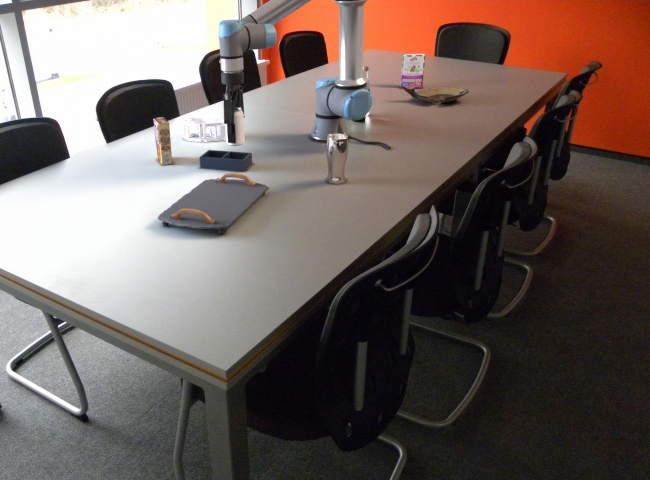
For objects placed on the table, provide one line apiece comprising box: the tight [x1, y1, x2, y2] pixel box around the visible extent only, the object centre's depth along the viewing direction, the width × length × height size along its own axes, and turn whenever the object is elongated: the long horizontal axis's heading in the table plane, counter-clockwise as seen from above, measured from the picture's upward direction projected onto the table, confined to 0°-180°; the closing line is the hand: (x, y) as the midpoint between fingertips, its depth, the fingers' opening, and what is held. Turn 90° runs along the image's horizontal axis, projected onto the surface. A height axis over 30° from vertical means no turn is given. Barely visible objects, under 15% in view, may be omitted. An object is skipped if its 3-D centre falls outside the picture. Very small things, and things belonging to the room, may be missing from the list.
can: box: [225, 107, 245, 147], centre depth 212 cm, size 6×6×12 cm
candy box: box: [153, 116, 173, 166], centre depth 224 cm, size 9×4×15 cm, turn 20°
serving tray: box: [157, 172, 270, 236], centre depth 184 cm, size 39×23×6 cm, turn 158°
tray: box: [198, 149, 253, 173], centre depth 220 cm, size 17×9×4 cm, turn 71°
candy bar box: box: [400, 53, 426, 89], centre depth 315 cm, size 11×5×16 cm, turn 80°
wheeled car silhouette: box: [181, 117, 226, 143], centre depth 250 cm, size 20×11×7 cm, turn 66°
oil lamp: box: [400, 85, 470, 104], centre depth 291 cm, size 22×30×8 cm
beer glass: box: [325, 134, 349, 185], centre depth 200 cm, size 7×7×15 cm
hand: (235, 139), depth 215 cm, fingers closed on can, 6 cm apart
